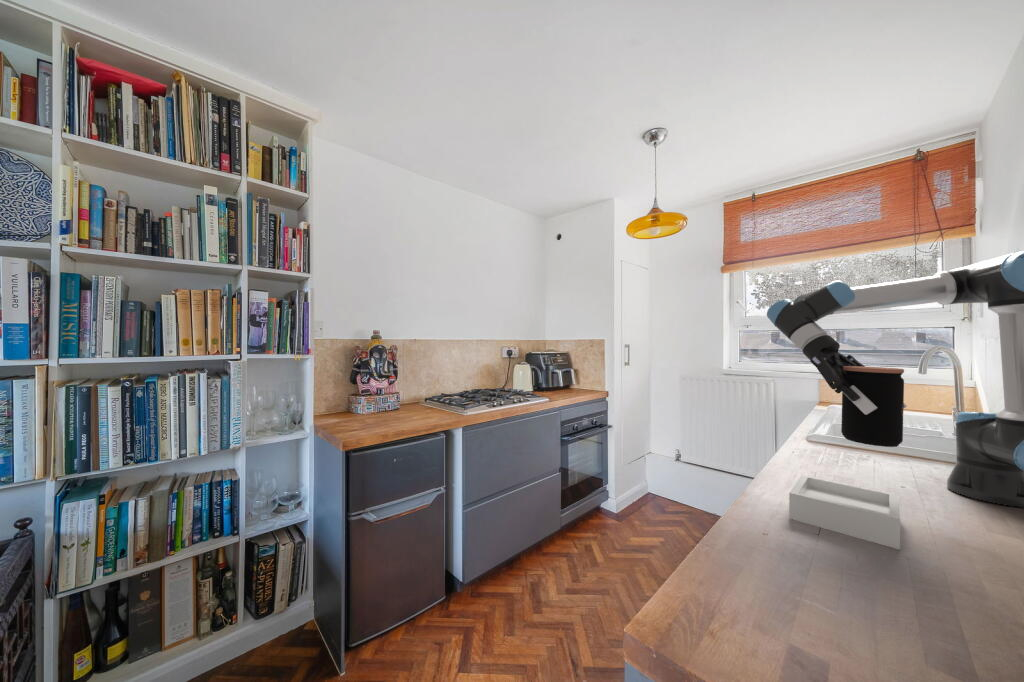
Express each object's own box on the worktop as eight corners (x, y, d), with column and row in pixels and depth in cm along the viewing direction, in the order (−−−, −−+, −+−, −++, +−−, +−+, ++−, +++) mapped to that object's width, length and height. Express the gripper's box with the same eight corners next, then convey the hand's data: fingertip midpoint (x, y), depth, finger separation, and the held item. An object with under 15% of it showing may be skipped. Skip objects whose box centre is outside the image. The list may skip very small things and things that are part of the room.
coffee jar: (916, 449, 83) (917, 370, 83) (860, 445, 85) (862, 368, 85) (879, 437, 93) (881, 367, 93) (831, 434, 96) (832, 365, 96)
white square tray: (898, 522, 86) (898, 494, 86) (900, 551, 74) (900, 519, 74) (801, 498, 99) (801, 474, 99) (789, 520, 87) (789, 492, 87)
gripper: (831, 353, 107) (901, 417, 93) (775, 352, 100) (840, 421, 85) (853, 334, 102) (931, 399, 88) (796, 332, 95) (869, 402, 80)
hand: (886, 410), depth 86 cm, fingers closed on coffee jar, 11 cm apart
